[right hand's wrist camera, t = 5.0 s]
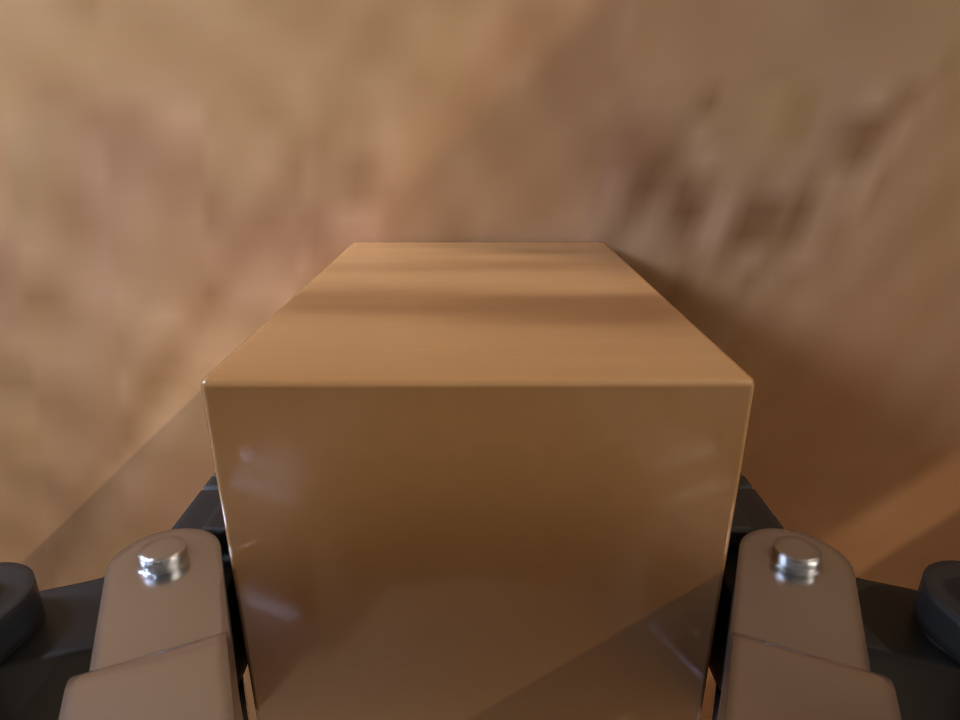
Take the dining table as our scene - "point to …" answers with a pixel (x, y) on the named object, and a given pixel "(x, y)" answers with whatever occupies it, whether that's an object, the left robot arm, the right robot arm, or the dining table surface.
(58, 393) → the dining table surface
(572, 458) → the bar
